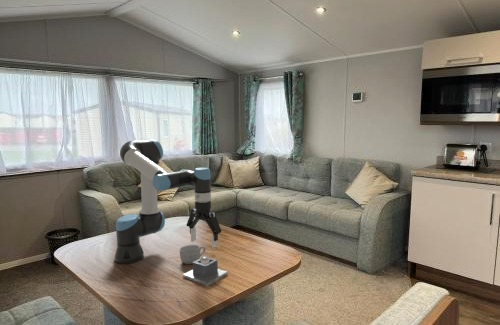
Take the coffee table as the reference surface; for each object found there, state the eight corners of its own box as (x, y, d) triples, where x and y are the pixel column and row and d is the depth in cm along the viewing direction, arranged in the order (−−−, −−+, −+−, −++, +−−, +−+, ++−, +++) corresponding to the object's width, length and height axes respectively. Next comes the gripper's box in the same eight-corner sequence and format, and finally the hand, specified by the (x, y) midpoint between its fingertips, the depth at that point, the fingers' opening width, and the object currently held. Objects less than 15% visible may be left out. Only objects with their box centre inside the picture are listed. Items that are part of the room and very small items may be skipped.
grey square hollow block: (192, 274, 161) (192, 262, 160) (204, 267, 168) (204, 256, 167) (205, 278, 156) (205, 266, 156) (217, 271, 163) (217, 260, 162)
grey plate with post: (183, 277, 161) (182, 258, 160) (203, 266, 173) (202, 249, 172) (207, 286, 152) (207, 266, 151) (227, 274, 163) (226, 255, 162)
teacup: (180, 267, 172) (180, 252, 171) (179, 259, 183) (178, 245, 182) (207, 264, 176) (207, 249, 175) (204, 256, 186) (204, 242, 185)
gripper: (178, 198, 162) (179, 240, 165) (217, 206, 148) (218, 252, 151) (189, 195, 168) (190, 236, 171) (228, 202, 154) (229, 247, 157)
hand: (203, 244), depth 161 cm, fingers open, 13 cm apart
